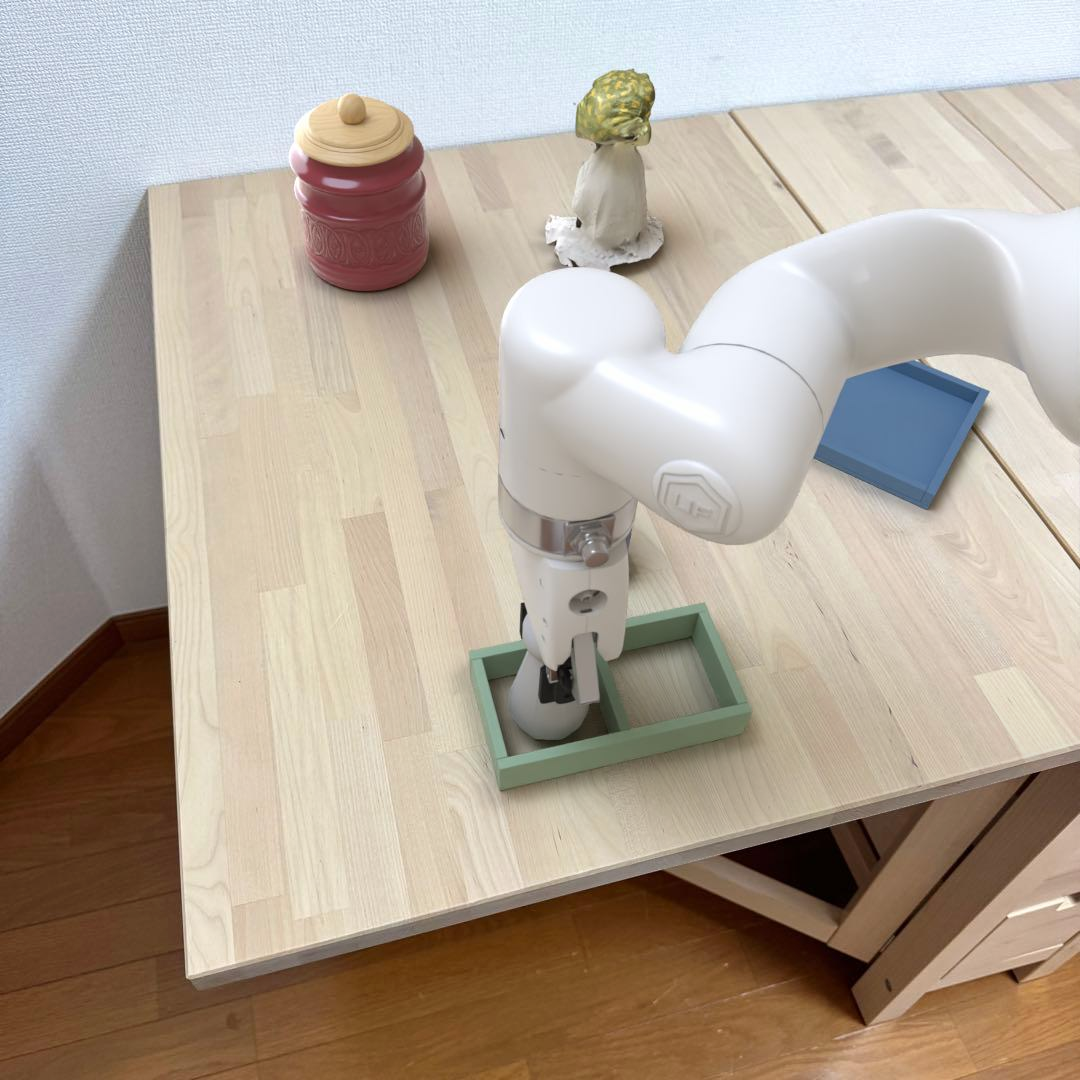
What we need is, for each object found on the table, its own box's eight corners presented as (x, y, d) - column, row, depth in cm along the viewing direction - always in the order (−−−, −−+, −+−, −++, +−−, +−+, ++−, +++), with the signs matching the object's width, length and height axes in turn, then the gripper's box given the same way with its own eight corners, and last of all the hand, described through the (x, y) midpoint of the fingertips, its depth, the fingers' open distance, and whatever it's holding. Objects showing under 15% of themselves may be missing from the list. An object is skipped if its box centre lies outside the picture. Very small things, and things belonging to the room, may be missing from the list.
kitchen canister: (432, 219, 110) (423, 61, 96) (427, 295, 102) (417, 135, 88) (313, 218, 110) (287, 58, 96) (299, 293, 102) (269, 132, 88)
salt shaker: (586, 754, 72) (602, 662, 62) (507, 751, 72) (509, 659, 61) (585, 682, 75) (600, 584, 65) (509, 680, 75) (512, 581, 65)
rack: (697, 626, 79) (704, 601, 76) (742, 734, 73) (752, 711, 71) (469, 674, 76) (468, 650, 73) (499, 791, 70) (499, 769, 67)
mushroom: (686, 249, 109) (717, 85, 94) (596, 292, 104) (614, 126, 89) (615, 196, 114) (634, 34, 100) (526, 235, 109) (533, 70, 95)
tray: (981, 406, 95) (990, 390, 94) (927, 510, 87) (934, 495, 86) (793, 327, 101) (798, 312, 100) (725, 417, 93) (730, 402, 92)
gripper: (688, 603, 49) (643, 764, 63) (590, 372, 59) (571, 557, 73) (540, 633, 48) (529, 790, 62) (465, 391, 57) (471, 576, 72)
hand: (552, 662), depth 68 cm, fingers closed on salt shaker, 4 cm apart
